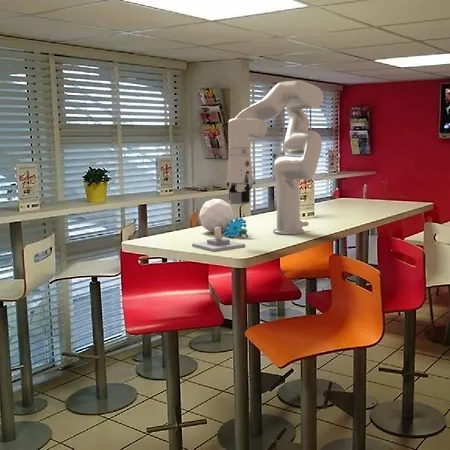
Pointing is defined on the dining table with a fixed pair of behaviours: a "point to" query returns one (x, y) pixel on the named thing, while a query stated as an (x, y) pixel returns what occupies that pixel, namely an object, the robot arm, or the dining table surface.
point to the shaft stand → (218, 243)
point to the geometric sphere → (216, 214)
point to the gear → (236, 228)
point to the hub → (236, 198)
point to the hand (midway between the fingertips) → (239, 201)
